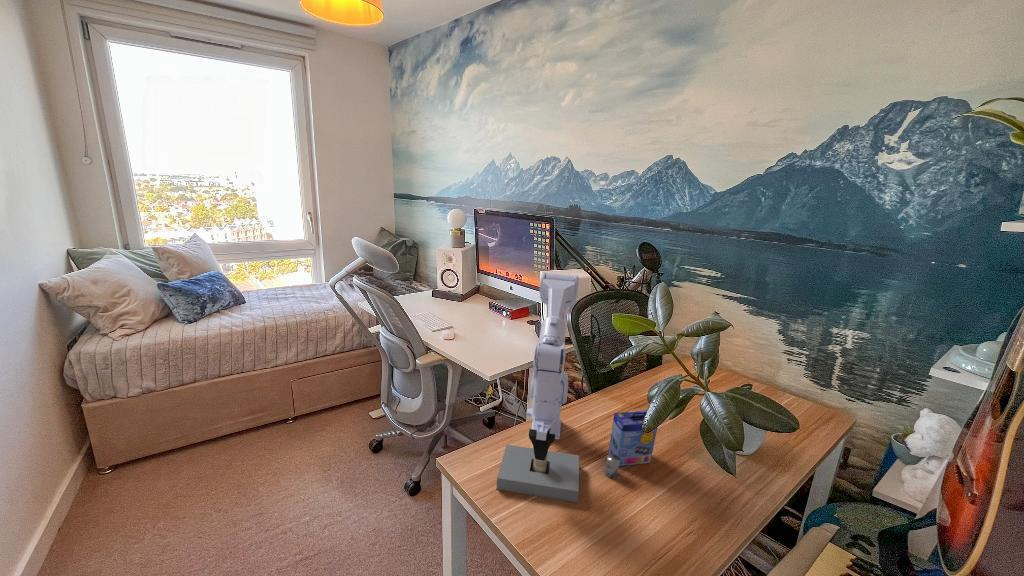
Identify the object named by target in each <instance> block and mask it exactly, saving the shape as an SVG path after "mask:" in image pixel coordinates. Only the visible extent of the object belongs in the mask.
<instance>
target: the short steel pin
mask: <svg viewBox="0 0 1024 576" xmlns="http://www.w3.org/2000/svg"><path fill="white" fill-rule="evenodd" d="M606 456H607V457H606V463H605V469H604V475H605V476H606V477H607V478H609V479H612V480H613V479H617V478H618V476H619V469H620V466H619V463H620V458H619V457H618V456H617V455H614V454H609V453H608V455H606Z"/></svg>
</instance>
